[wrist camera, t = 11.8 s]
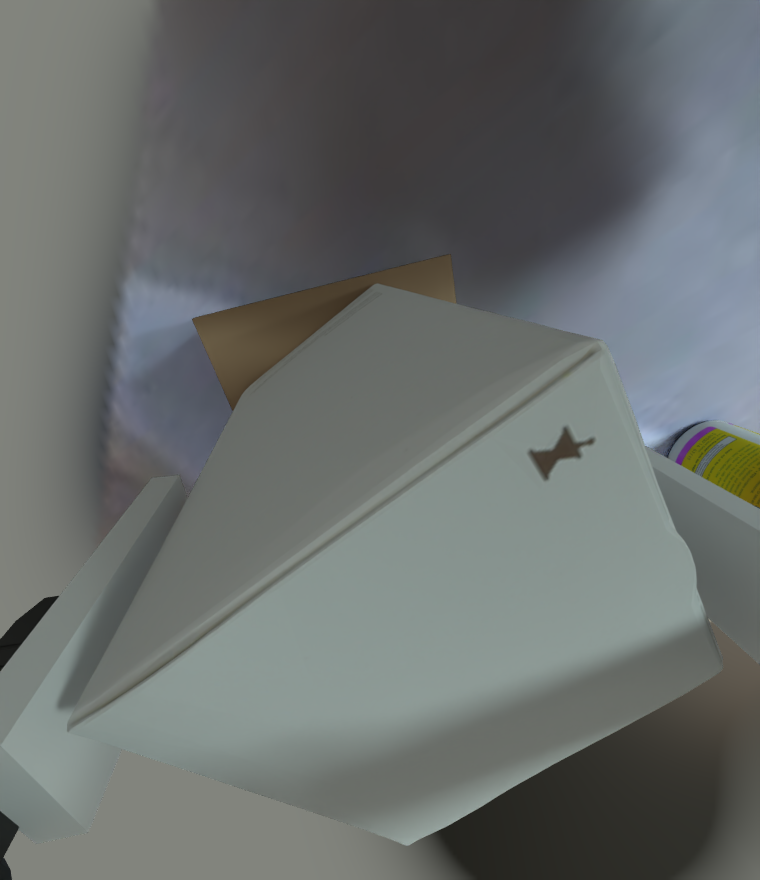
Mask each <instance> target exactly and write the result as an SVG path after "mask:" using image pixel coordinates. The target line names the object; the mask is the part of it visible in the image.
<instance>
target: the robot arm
mask: <svg viewBox="0 0 760 880" xmlns="http://www.w3.org/2000/svg"><path fill="white" fill-rule="evenodd" d="M645 448H646V451H647V454H648V457H649V459H650V462H651V465H652V468H653V471H654V474H655V477H656V480H657V482H658V485H659V488H660V490H661V493H662V495H663V498H664V501H665V503H666V506H667V508H668V511H669V514H670V516H671V519H672V521H673V524H674V527H675V529H676V532H677V533H678V534H679V535H680V536H681V537H682V539H683V540H684V541H685V543H686V545H687V546H688V548H689V550H690V551H691V554H692V557H693V561H694V564H695V567H696V578H697V585H696V588H697V590H698V593H699V596H700V598H701V601H702V603H703V606H704V609H705V611H706V614H707V617H708V618H709V619H710V620H711V621H712V622H713V623H714V624H715V625H716V626H717V627H719V628H720V629H721V630H722V631H723V632H724V633H725V634H726V635H727V636H729V637H730V638H731V639H732V640H733V641H734V642H735V643H736V644H738V646H740V647H741V648H742V649H743V650H744V651H745V652H746V653H747V654H748V655H750V656H751V657H752V658H753V659H754V660H755V661H756V662H757V663H758V664H760V508H759V507H757V506H754V505H752V504H750V503H748V502H746V501H744V500H742V499H741V498H739V497H737V496H735V495H733V494H732V493H730V492H728V491H726V490H724V489H723V488H721V487H719V486H717V485H715V484H713V483H712V482H710V481H708V480H706V479H704V478H703V477H701V476H699V475H697V474H695V473H693V472H692V471H690V470H688V469H686V468H684V467H683V466H681V465H679V464H677V463H675V462H674V461H672V460H670V459H668V458H666V457H664V456H663V455H661V454H659V453H657V452H655V451H654V450H652V449H650V448H648V447H646V446H645ZM186 500H187V495H186V492H185V489H184V486H183V484H182V481H181V478H180V475H173V476H164V477H155V478H151V479H150V481H149V482H148V483H147V485H146V486H145V487H144V488H143V490H142V491H141V492H140V494H139V495H138V496H137V497H136V499H135V500H134V501H133V502H132V504H131V505H130V506H129V508H128V509H127V510H126V511H125V513H124V514H123V515H122V517H121V518H120V519H119V520H118V522H117V523H116V524H115V525H114V527H113V528H112V529H111V531H110V532H109V533H108V534H107V536H106V537H105V538H104V540H103V541H102V542H101V543H100V545H99V546H98V547H97V549H96V550H95V551H94V552H93V554H92V555H91V556H90V557H89V559H88V560H87V561H86V563H85V564H84V565H83V566H82V568H81V569H80V570H79V572H78V573H77V574H76V576H75V577H74V578H73V579H72V581H71V582H70V583H69V585H68V586H67V587H66V588H65V590H64V591H63V592H62V593H61V595H60V596H55V597H48V598H44V599H43V600H42V601H40V602H39V603H38V604H37V605H35V606H34V607H33V608H32V609H30V610H29V611H28V612H27V613H25V614H24V615H23V616H22V617H20V618H19V619H18V620H17V621H15V623H14V624H13V625H12V626H11V627H10V629H9V630H8V631H7V632H6V633H5V635H4V636H3V637H2V638H1V639H0V880H12V877H11V870H10V868H9V866H8V864H7V862H6V861H5V859H4V858H3V857H4V855H5V853H6V851H7V849H8V847H9V846H10V843H11V842H12V840H13V838H14V836H15V834H16V832H17V831H18V829H19V830H20V831H21V832H22V833H23V834H25V835H26V836H27V837H28V838H30V839H31V840H32V841H33V842H34V843H35V844H39V843H44V842H48V841H53V840H57V839H62V838H66V837H71V836H75V835H80V834H85V833H88V832H89V830H90V827H91V825H92V822H93V820H94V817H95V814H96V812H97V810H98V807H99V805H100V803H101V800H102V798H103V795H104V793H105V790H106V787H107V785H108V782H109V780H110V778H111V775H112V773H113V770H114V768H115V765H116V763H117V760H118V758H119V756H120V753H121V751H122V749H120V748H117V747H114V746H111V745H108V744H105V743H102V742H99V741H96V740H93V739H89V738H86V737H82V736H78V735H75V734H71V733H68V732H67V722H68V720H69V719H70V717H71V715H72V713H73V711H74V709H75V707H76V705H77V703H78V701H79V699H80V697H81V695H82V693H83V692H84V690H85V688H86V686H87V684H88V683H89V681H90V679H91V677H92V675H93V673H94V672H95V670H96V668H97V666H98V664H99V663H100V661H101V659H102V657H103V655H104V653H105V652H106V650H107V648H108V646H109V644H110V642H111V640H112V639H113V637H114V635H115V633H116V631H117V629H118V627H119V625H120V624H121V622H122V620H123V618H124V616H125V614H126V612H127V610H128V609H129V607H130V605H131V603H132V601H133V599H134V597H135V595H136V594H137V592H138V590H139V588H140V586H141V584H142V582H143V580H144V579H145V577H146V575H147V573H148V571H149V569H150V568H151V566H152V564H153V562H154V560H155V558H156V556H157V555H158V553H159V551H160V549H161V547H162V545H163V543H164V541H165V539H166V537H167V535H168V533H169V532H170V530H171V528H172V526H173V524H174V523H175V521H176V519H177V517H178V515H179V513H180V512H181V510H182V508H183V506H184V504H185V502H186Z"/></svg>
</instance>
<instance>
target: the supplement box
mask: <svg viewBox="0 0 760 880" xmlns="http://www.w3.org/2000/svg"><path fill="white" fill-rule="evenodd" d="M696 585H697V578H696V567H695V564H694V561H693V557H692V554H691V551H690V550H689V548H688V546H687V545H686V543H685V541H684V540H683V539H682V537H681V536H680V535H679V534H678V533H677V532H676V529H675V527H674V524H673V521H672V519H671V516H670V514H669V511H668V508H667V506H666V503H665V501H664V498H663V495H662V493H661V490H660V488H659V485H658V482H657V480H656V477H655V474H654V471H653V468H652V465H651V462H650V459H649V457H648V454H647V451H646V448H645V445H644V442H643V439H642V436H641V433H640V430H639V427H638V425H637V422H636V419H635V416H634V413H633V411H632V408H631V406H630V403H629V400H628V398H627V395H626V392H625V390H624V387H623V384H622V381H621V379H620V376H619V373H618V371H617V368H616V365H615V363H614V361H613V358H612V356H611V354H610V351H609V349H608V346H607V345H606V344H605V343H604V342H603V340H600V339H595V338H591V337H587V336H583V335H579V334H575V333H570V332H566V331H562V330H558V329H555V328H551V327H547V326H543V325H539V324H536V323H532V322H528V321H524V320H519V319H515V318H511V317H507V316H502V315H499V314H495V313H492V312H487V311H483V310H479V309H475V308H471V307H467V306H463V305H459V304H455V303H451V302H447V301H444V300H440V299H436V298H432V297H428V296H424V295H421V294H417V293H413V292H409V291H406V290H401V289H397V288H393V287H389V286H385V285H381V284H374V285H373V286H372V287H370V288H369V289H368V290H366V291H365V292H364V293H363V294H361V295H360V296H359V297H358V298H357V299H355V300H354V301H353V302H352V303H350V304H349V305H348V306H347V307H346V308H344V309H343V310H342V311H341V312H339V313H338V314H337V315H336V316H334V317H333V318H332V319H331V320H330V321H328V322H327V323H326V324H325V325H323V326H322V327H321V328H320V329H319V330H317V331H316V332H315V333H314V334H312V335H311V336H310V337H309V338H308V339H306V340H305V341H304V342H303V343H302V344H300V345H299V346H298V347H297V348H295V349H294V350H293V351H292V352H291V353H289V354H288V355H287V356H286V357H284V358H283V359H282V360H281V361H279V362H278V363H277V364H276V365H274V366H273V367H272V368H271V369H269V370H268V371H267V372H266V373H265V374H263V375H262V376H261V377H260V378H258V379H257V380H256V381H255V382H254V383H253V384H251V385H250V386H249V387H248V388H247V389H246V390H245V391H244V393H243V394H242V395H241V397H240V399H239V401H238V403H237V405H236V407H235V408H234V410H233V412H232V414H231V416H230V418H229V420H228V422H227V424H226V425H225V427H224V429H223V431H222V433H221V435H220V437H219V439H218V441H217V443H216V445H215V447H214V448H213V450H212V452H211V454H210V456H209V458H208V460H207V462H206V464H205V466H204V468H203V470H202V471H201V473H200V475H199V477H198V479H197V481H196V483H195V485H194V487H193V489H192V491H191V492H190V494H189V496H188V498H187V500H186V502H185V504H184V506H183V508H182V510H181V512H180V513H179V515H178V517H177V519H176V521H175V523H174V524H173V526H172V528H171V530H170V532H169V533H168V535H167V537H166V539H165V541H164V543H163V545H162V547H161V549H160V551H159V553H158V555H157V556H156V558H155V560H154V562H153V564H152V566H151V568H150V569H149V571H148V573H147V575H146V577H145V579H144V580H143V582H142V584H141V586H140V588H139V590H138V592H137V594H136V595H135V597H134V599H133V601H132V603H131V605H130V607H129V609H128V610H127V612H126V614H125V616H124V618H123V620H122V622H121V624H120V625H119V627H118V629H117V631H116V633H115V635H114V637H113V639H112V640H111V642H110V644H109V646H108V648H107V650H106V652H105V653H104V655H103V657H102V659H101V661H100V663H99V664H98V666H97V668H96V670H95V672H94V673H93V675H92V677H91V679H90V681H89V683H88V684H87V686H86V688H85V690H84V692H83V693H82V695H81V697H80V699H79V701H78V703H77V705H76V707H75V709H74V711H73V713H72V715H71V717H70V719H69V720H68V722H67V732H68V733H71V734H75V735H78V736H82V737H86V738H89V739H93V740H96V741H99V742H102V743H105V744H108V745H111V746H114V747H117V748H120V749H124V750H127V751H130V752H133V753H136V754H139V755H142V756H145V757H148V758H151V759H154V760H157V761H160V762H163V763H166V764H169V765H172V766H175V767H178V768H181V769H184V770H187V771H190V772H194V773H196V774H199V775H202V776H205V777H208V778H211V779H214V780H217V781H220V782H223V783H226V784H229V785H232V786H235V787H238V788H241V789H244V790H247V791H250V792H253V793H256V794H259V795H262V796H265V797H268V798H271V799H274V800H277V801H280V802H283V803H286V804H289V805H292V806H296V807H298V808H302V809H305V810H307V811H311V812H313V813H317V814H319V815H322V816H325V817H328V818H331V819H334V820H337V821H340V822H343V823H346V824H349V825H352V826H355V827H358V828H360V829H363V830H366V831H369V832H372V833H374V834H377V835H380V836H383V837H386V838H388V839H391V840H393V841H396V842H398V843H401V844H403V845H406V846H408V845H410V844H412V843H413V842H415V841H417V840H418V839H420V838H422V837H425V836H427V835H429V834H431V833H433V832H435V831H438V830H440V829H442V828H444V827H446V826H448V825H450V824H452V823H453V822H455V821H457V820H459V819H460V818H462V817H464V816H466V815H467V814H469V813H471V812H472V811H474V810H476V809H478V808H479V807H481V806H483V805H484V804H486V803H488V802H489V801H491V800H492V799H494V798H495V797H497V796H499V795H500V794H502V793H504V792H505V791H507V790H509V789H510V788H512V787H514V786H516V785H517V784H519V783H521V782H523V781H525V780H526V779H528V778H530V777H532V776H533V775H535V774H537V773H539V772H540V771H542V770H544V769H546V768H547V767H549V766H551V765H552V764H554V763H557V762H558V761H560V760H562V759H564V758H566V757H568V756H570V755H572V754H574V753H576V752H577V751H579V750H581V749H583V748H585V747H587V746H589V745H591V744H593V743H594V742H596V741H598V740H600V739H602V738H604V737H606V736H608V735H610V734H612V733H614V732H615V731H617V730H619V729H621V728H623V727H625V726H627V725H629V724H630V723H632V722H634V721H636V720H638V719H640V718H641V717H643V716H645V715H647V714H649V713H651V712H653V711H654V710H656V709H658V708H660V707H662V706H664V705H665V704H667V703H669V702H671V701H673V700H675V699H677V698H678V697H680V696H682V695H684V694H686V693H687V692H689V691H691V690H692V689H694V688H695V687H697V686H699V685H700V684H702V683H704V682H705V681H707V680H709V679H710V678H712V677H714V676H715V675H717V674H718V673H720V671H721V670H722V669H723V663H722V660H723V657H722V654H721V651H720V649H719V646H718V644H717V641H716V638H715V636H714V633H713V630H712V628H711V625H710V622H709V620H708V617H707V614H706V611H705V609H704V606H703V603H702V601H701V598H700V596H699V593H698V590H697V588H696Z"/></svg>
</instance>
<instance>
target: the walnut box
mask: <svg viewBox="0 0 760 880" xmlns="http://www.w3.org/2000/svg"><path fill="white" fill-rule="evenodd" d="M374 284H381V285H385V286H389V287H393V288H397V289H401V290H406V291H409V292H413V293H417V294H421V295H424V296H428V297H432V298H436V299H440V300H444V301H447V302H451V303H455V304H456V296H455V287H454V278H453V270H452V261H451V254H448V255H443V256H439V257H435V258H431V259H427V260H423V261H419V262H415V263H411V264H407V265H403V266H399V267H395V268H391V269H387V270H383V271H379V272H375V273H371V274H367V275H363V276H359V277H355V278H351V279H347V280H343V281H339V282H335V283H331V284H327V285H323V286H319V287H315V288H311V289H307V290H303V291H299V292H295V293H291V294H287V295H283V296H279V297H275V298H271V299H267V300H263V301H259V302H255V303H251V304H247V305H243V306H239V307H235V308H231V309H227V310H223V311H219V312H215V313H211V314H207V315H203V316H199V317H195V318H193V319H192V320H193V323H194V325H195V327H196V329H197V332H198V334H199V336H200V338H201V341H202V343H203V345H204V347H205V350H206V352H207V354H208V356H209V359H210V361H211V363H212V365H213V368H214V370H215V372H216V374H217V377H218V379H219V381H220V383H221V386H222V388H223V390H224V392H225V395H226V397H227V399H228V401H229V404H230V406H231V408H232V410H234V408H235V407H236V405H237V403H238V401H239V399H240V397H241V395H242V394H243V393H244V391H245V390H246V389H247V388H248V387H249V386H250V385H251V384H253V383H254V382H255V381H256V380H257V379H258V378H260V377H261V376H262V375H263V374H265V373H266V372H267V371H268V370H269V369H271V368H272V367H273V366H274V365H276V364H277V363H278V362H279V361H281V360H282V359H283V358H284V357H286V356H287V355H288V354H289V353H291V352H292V351H293V350H294V349H295V348H297V347H298V346H299V345H300V344H302V343H303V342H304V341H305V340H306V339H308V338H309V337H310V336H311V335H312V334H314V333H315V332H316V331H317V330H319V329H320V328H321V327H322V326H323V325H325V324H326V323H327V322H328V321H330V320H331V319H332V318H333V317H334V316H336V315H337V314H338V313H339V312H341V311H342V310H343V309H344V308H346V307H347V306H348V305H349V304H350V303H352V302H353V301H354V300H355V299H357V298H358V297H359V296H360V295H361V294H363V293H364V292H365V291H366V290H368V289H369V288H370V287H372V286H373V285H374Z"/></svg>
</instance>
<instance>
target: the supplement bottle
mask: <svg viewBox="0 0 760 880" xmlns="http://www.w3.org/2000/svg"><path fill="white" fill-rule="evenodd" d="M668 459H670V460H672V461H674V462H675V463H677V464H679V465H681V466H683V467H684V468H686V469H688V470H690V471H692V472H693V473H695V474H697V475H699V476H701V477H703V478H704V479H706V480H708V481H710V482H712V483H713V484H715V485H717V486H719V487H721V488H723V489H724V490H726V491H728V492H730V493H732V494H733V495H735V496H737V497H739V498H741V499H742V500H744V501H746V502H748V503H750V504H752V505H754V506H757V507H759V508H760V434H758V433H756V432H753V431H750V430H748V429H745V428H742V427H739V426H736V425H733V424H730V423H727V422H724V421H719V420H713V421H707V422H703V423H700V424H698V425H696V426H694V427H692V428H691V429H689V430H688V431H686V432H685V433H684V434H683V435H682V436H681V437H680V438H679V439H678V440H677V441H676V443H675V444H674V446H673V447H672V449H671V451H670V453H669V456H668Z"/></svg>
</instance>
